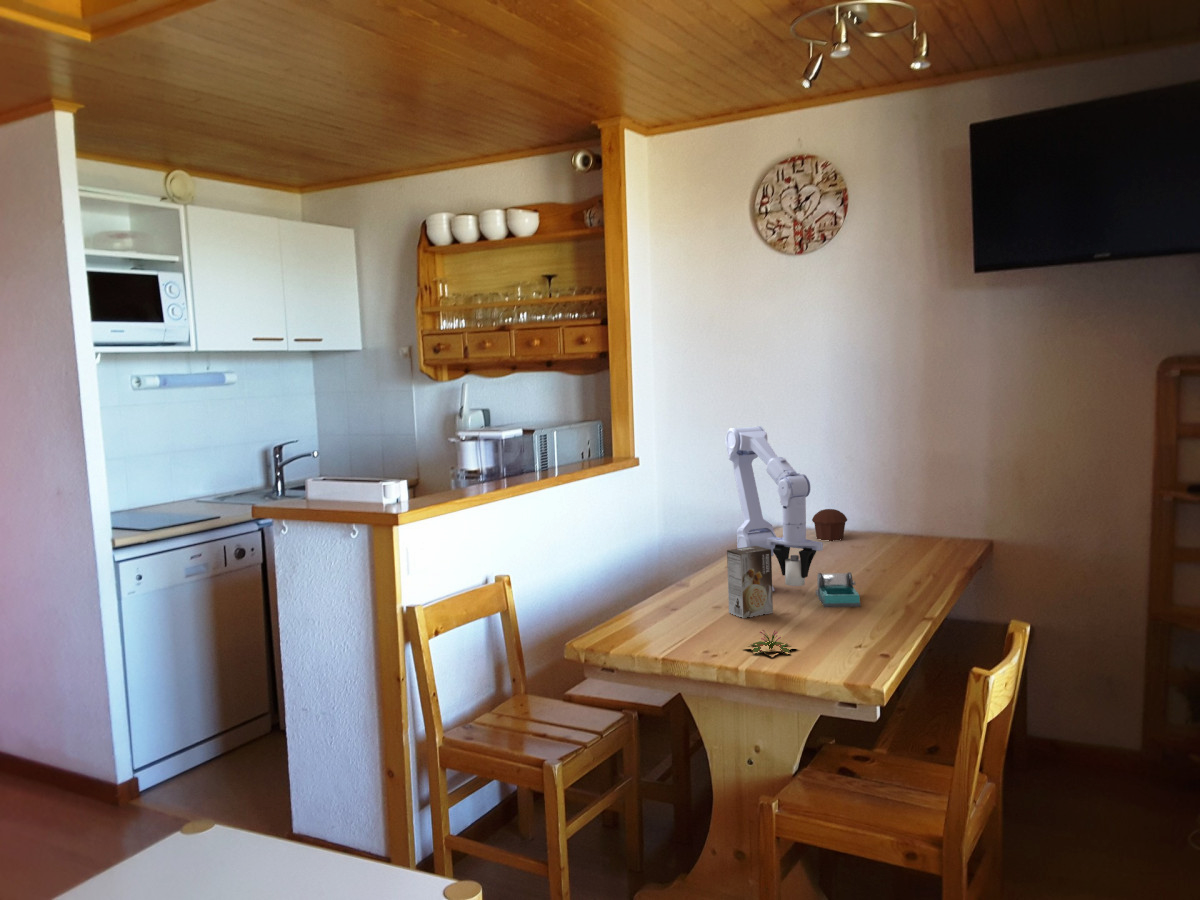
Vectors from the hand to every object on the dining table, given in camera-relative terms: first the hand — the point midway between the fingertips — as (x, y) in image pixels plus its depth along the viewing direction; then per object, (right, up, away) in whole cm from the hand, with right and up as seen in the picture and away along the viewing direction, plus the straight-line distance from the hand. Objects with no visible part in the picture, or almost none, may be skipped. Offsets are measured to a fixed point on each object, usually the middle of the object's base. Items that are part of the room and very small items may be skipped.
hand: (794, 575), depth 244 cm
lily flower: (-13, -12, -37) cm, 41 cm away
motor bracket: (+12, -7, +2) cm, 14 cm away
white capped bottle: (0, -2, 0) cm, 2 cm away
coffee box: (-12, -9, -7) cm, 17 cm away
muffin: (+29, +2, +82) cm, 87 cm away
